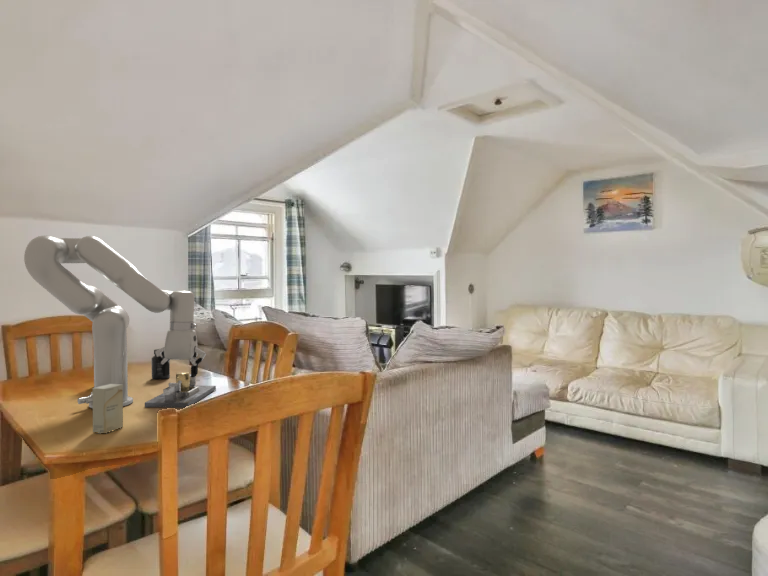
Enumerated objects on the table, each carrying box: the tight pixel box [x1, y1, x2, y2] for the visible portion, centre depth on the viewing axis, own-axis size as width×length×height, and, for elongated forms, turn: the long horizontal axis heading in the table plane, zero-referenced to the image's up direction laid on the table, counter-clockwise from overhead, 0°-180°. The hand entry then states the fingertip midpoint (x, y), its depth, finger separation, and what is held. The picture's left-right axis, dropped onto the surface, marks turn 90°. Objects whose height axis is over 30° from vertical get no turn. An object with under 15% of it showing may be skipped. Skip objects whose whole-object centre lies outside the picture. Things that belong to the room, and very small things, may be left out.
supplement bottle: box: [150, 348, 171, 380], centre depth 195 cm, size 7×7×12 cm
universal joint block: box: [175, 371, 191, 392], centre depth 164 cm, size 6×4×7 cm
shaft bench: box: [144, 373, 217, 409], centre depth 164 cm, size 24×14×6 cm, turn 179°
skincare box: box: [92, 384, 124, 434], centre depth 129 cm, size 6×4×12 cm
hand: (179, 375), depth 163 cm, fingers open, 9 cm apart
